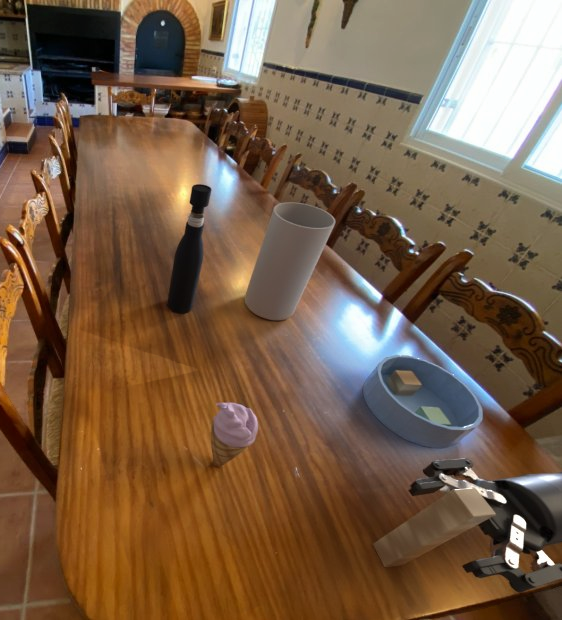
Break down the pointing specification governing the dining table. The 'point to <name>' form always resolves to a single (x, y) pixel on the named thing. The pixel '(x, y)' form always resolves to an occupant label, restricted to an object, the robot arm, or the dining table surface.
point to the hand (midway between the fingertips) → (438, 525)
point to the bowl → (422, 402)
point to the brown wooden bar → (433, 526)
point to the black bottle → (189, 254)
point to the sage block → (433, 415)
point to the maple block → (403, 382)
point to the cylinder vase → (287, 259)
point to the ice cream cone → (232, 432)
